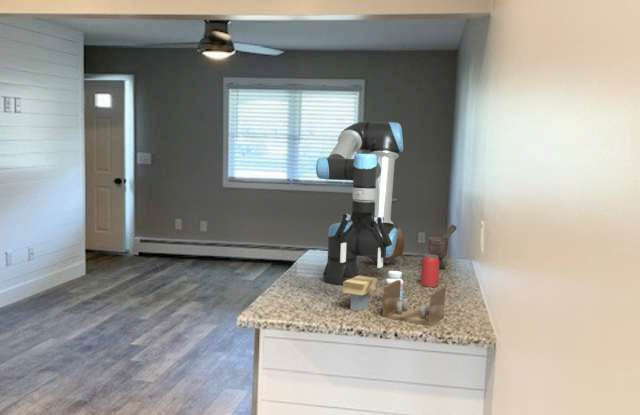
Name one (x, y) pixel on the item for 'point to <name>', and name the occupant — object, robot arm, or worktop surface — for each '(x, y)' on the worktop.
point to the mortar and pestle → (440, 245)
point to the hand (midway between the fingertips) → (361, 264)
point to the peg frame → (425, 316)
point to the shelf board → (360, 285)
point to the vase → (398, 246)
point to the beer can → (430, 270)
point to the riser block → (359, 301)
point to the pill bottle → (393, 277)
